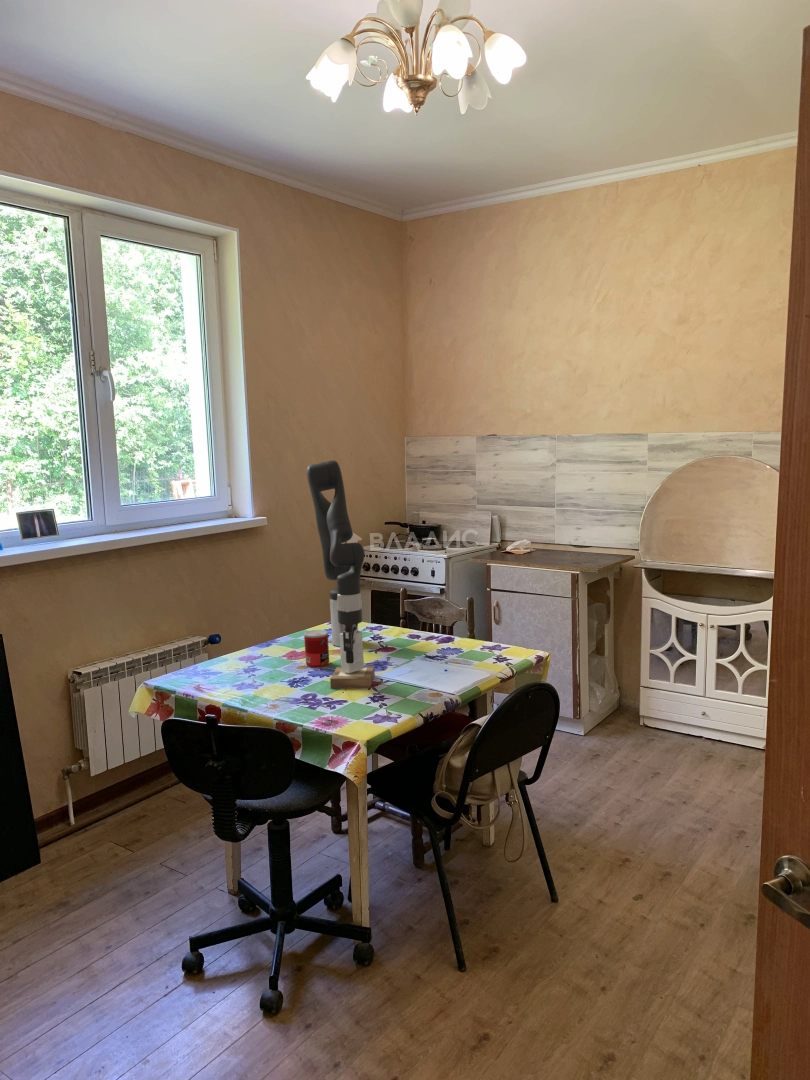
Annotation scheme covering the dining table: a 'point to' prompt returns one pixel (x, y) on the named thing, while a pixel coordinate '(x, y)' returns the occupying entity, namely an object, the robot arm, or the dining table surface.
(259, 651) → the dining table surface
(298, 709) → the dining table surface
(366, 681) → the base slab
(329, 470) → the robot arm
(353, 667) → the skincare box
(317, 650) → the canned food
